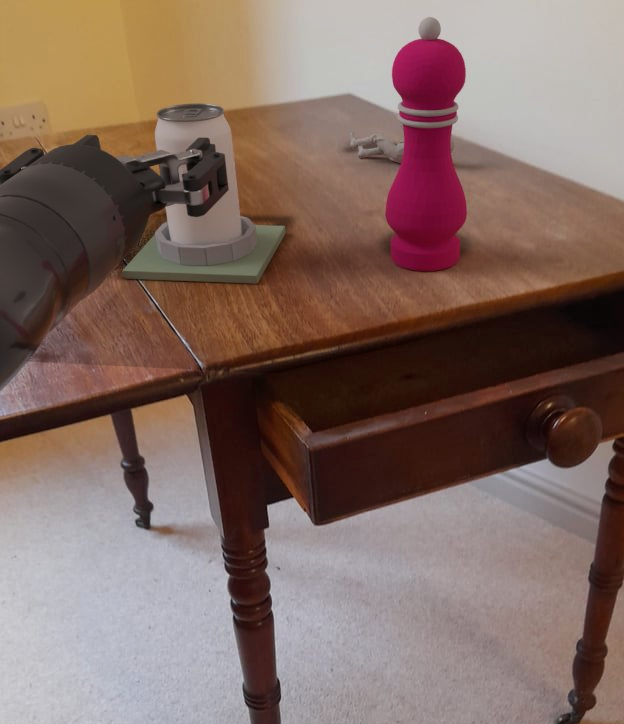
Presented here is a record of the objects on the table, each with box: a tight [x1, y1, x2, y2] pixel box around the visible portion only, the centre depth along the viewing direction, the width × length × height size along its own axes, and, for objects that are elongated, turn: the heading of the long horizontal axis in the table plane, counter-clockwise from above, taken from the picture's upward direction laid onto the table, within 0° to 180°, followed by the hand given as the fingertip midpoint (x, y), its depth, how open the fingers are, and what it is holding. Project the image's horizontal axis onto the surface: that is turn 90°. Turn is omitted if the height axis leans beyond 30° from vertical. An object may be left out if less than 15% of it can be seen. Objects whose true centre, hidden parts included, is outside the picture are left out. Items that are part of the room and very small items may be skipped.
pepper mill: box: [384, 16, 468, 272], centre depth 74 cm, size 7×7×20 cm
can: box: [154, 103, 242, 245], centre depth 77 cm, size 6×6×12 cm
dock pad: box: [122, 215, 286, 285], centre depth 80 cm, size 12×12×2 cm
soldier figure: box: [349, 112, 455, 164], centre depth 103 cm, size 8×5×12 cm
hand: (150, 149), depth 65 cm, fingers open, 8 cm apart
